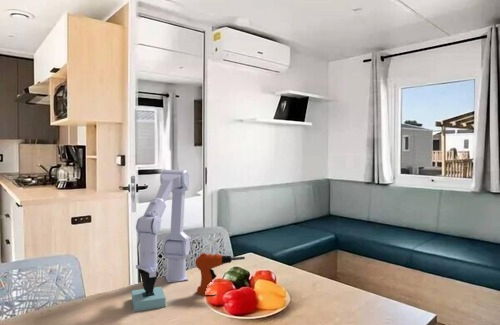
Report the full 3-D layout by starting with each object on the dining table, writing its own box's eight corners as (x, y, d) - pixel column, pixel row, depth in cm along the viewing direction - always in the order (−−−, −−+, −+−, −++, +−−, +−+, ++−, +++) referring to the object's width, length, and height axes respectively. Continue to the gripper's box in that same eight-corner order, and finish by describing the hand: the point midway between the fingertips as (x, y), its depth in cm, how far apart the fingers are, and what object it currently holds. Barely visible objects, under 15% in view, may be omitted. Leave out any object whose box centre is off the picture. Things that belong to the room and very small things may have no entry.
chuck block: (131, 298, 122) (131, 290, 122) (161, 294, 126) (161, 286, 126) (133, 311, 113) (133, 302, 113) (165, 306, 117) (165, 297, 117)
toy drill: (248, 293, 125) (243, 251, 124) (196, 297, 126) (191, 256, 126) (249, 288, 130) (244, 247, 129) (199, 292, 131) (194, 252, 131)
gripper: (132, 247, 124) (132, 285, 124) (140, 259, 111) (140, 301, 111) (152, 245, 127) (152, 282, 127) (162, 256, 114) (162, 297, 115)
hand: (148, 291), depth 120 cm, fingers closed on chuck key, 3 cm apart
